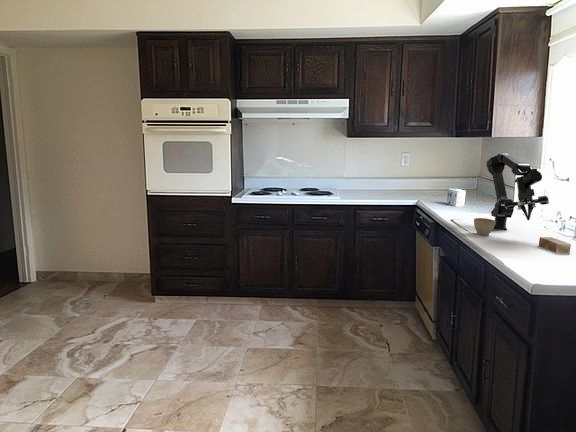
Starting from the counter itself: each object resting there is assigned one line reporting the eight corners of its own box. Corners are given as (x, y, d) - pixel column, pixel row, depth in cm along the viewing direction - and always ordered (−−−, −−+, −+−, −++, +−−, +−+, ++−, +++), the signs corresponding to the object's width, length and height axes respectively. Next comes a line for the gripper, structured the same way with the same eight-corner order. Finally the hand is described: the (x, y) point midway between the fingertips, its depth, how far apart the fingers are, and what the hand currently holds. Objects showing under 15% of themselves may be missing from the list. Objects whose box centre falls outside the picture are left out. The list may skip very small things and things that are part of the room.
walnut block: (539, 237, 214) (558, 243, 202) (551, 237, 215) (571, 244, 203) (538, 245, 214) (556, 253, 203) (550, 245, 215) (569, 253, 204)
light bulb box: (446, 203, 324) (447, 188, 322) (454, 203, 326) (456, 188, 324) (455, 206, 314) (457, 190, 312) (464, 206, 316) (466, 190, 314)
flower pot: (467, 232, 236) (469, 218, 234) (483, 231, 239) (485, 217, 238) (482, 237, 227) (484, 222, 225) (498, 236, 230) (500, 221, 229)
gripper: (500, 187, 226) (504, 219, 222) (544, 180, 216) (549, 213, 212) (504, 193, 235) (508, 223, 231) (546, 187, 226) (551, 218, 222)
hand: (528, 220), depth 224 cm, fingers closed
